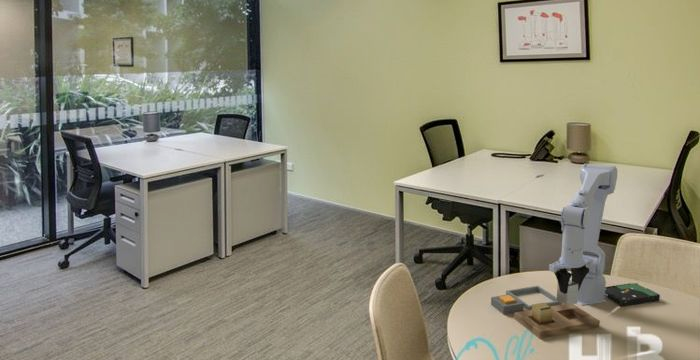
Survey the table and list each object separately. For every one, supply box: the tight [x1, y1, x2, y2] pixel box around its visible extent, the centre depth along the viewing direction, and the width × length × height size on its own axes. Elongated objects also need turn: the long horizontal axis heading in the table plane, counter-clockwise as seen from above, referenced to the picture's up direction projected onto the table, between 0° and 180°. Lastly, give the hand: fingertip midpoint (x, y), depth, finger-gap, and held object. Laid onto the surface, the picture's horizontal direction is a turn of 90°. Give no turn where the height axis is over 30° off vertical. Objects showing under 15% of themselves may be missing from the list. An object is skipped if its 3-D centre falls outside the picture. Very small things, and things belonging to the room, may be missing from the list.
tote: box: [505, 285, 562, 311], centre depth 164 cm, size 12×12×2 cm
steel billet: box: [556, 279, 578, 306], centre depth 150 cm, size 4×4×6 cm
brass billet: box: [531, 302, 553, 325], centre depth 147 cm, size 4×4×6 cm
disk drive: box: [604, 282, 661, 308], centre depth 165 cm, size 10×3×15 cm
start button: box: [499, 294, 516, 304], centre depth 159 cm, size 4×4×3 cm
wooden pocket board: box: [513, 304, 601, 340], centre depth 149 cm, size 20×12×2 cm, turn 106°
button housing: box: [490, 294, 524, 315], centre depth 159 cm, size 7×7×3 cm
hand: (569, 290), depth 149 cm, fingers closed on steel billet, 4 cm apart
